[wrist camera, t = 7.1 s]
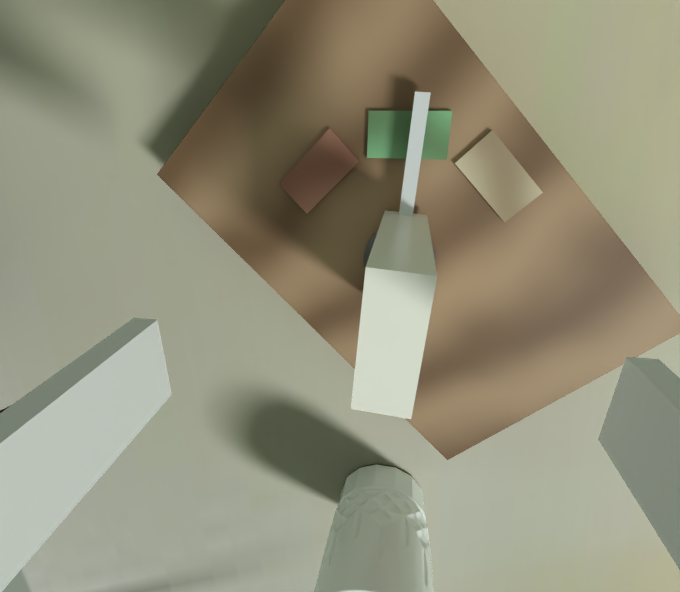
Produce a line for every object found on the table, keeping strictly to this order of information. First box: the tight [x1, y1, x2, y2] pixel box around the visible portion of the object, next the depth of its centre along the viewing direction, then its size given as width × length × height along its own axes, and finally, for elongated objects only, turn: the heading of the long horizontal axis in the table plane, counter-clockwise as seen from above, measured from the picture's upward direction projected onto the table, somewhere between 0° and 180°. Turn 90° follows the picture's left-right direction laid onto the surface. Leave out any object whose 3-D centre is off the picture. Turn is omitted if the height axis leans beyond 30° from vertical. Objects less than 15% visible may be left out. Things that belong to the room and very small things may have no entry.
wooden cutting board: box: [157, 0, 680, 460], centre depth 23 cm, size 26×16×3 cm, turn 44°
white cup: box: [314, 465, 434, 592], centre depth 28 cm, size 8×8×10 cm
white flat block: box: [351, 91, 437, 419], centre depth 16 cm, size 2×11×10 cm, turn 176°
